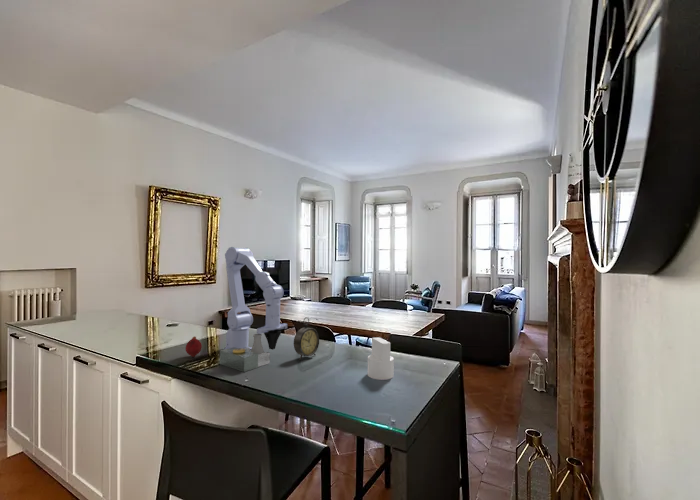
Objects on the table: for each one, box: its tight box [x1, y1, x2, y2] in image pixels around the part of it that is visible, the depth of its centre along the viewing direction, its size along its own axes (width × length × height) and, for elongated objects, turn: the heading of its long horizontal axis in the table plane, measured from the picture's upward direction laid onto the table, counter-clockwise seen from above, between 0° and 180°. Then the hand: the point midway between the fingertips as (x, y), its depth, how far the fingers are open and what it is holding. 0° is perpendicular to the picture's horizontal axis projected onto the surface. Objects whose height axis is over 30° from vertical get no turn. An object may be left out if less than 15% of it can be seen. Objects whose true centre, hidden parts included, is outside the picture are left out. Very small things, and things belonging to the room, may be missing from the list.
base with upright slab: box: [367, 336, 395, 381], centre depth 118 cm, size 9×9×12 cm
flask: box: [250, 333, 265, 354], centre depth 132 cm, size 7×7×10 cm
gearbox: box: [219, 346, 271, 373], centre depth 127 cm, size 14×12×6 cm
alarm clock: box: [293, 316, 320, 361], centre depth 137 cm, size 11×5×16 cm, turn 143°
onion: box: [185, 336, 203, 358], centre depth 134 cm, size 6×6×8 cm
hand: (272, 348), depth 138 cm, fingers closed
